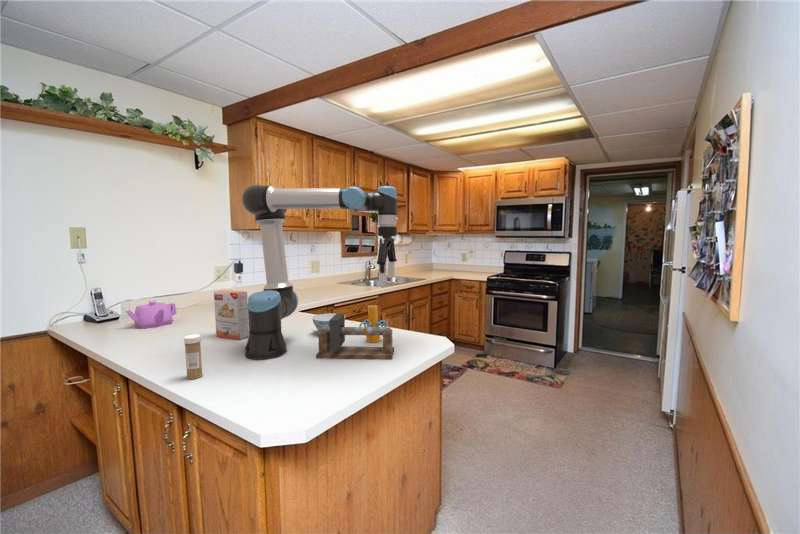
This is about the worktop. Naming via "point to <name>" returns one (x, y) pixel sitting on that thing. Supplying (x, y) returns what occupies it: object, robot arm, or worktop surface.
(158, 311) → the teakettle
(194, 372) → the sprinkles bottle
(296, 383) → the worktop surface
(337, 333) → the collar
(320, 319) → the chinaware
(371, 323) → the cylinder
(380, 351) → the pipe stand
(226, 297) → the cracker box
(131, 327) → the worktop surface
